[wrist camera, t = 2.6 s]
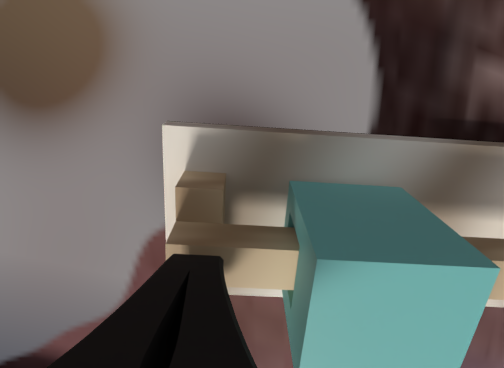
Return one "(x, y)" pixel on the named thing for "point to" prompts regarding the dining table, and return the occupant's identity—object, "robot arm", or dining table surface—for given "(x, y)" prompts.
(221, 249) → the rail
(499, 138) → the dining table surface
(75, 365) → the robot arm
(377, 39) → the dining table surface
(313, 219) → the slider
